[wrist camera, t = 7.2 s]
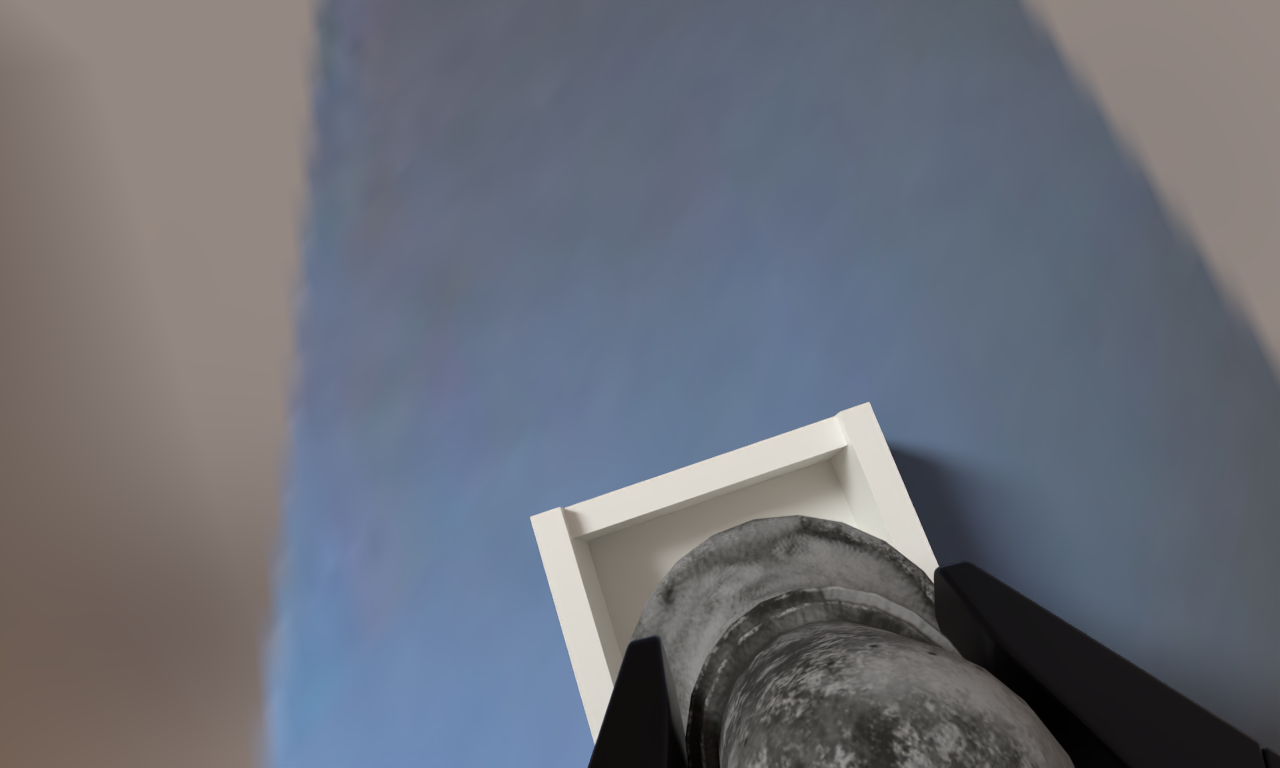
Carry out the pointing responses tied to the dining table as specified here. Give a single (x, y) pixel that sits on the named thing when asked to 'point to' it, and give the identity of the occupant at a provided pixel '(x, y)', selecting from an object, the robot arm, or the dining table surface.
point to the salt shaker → (827, 659)
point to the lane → (710, 529)
